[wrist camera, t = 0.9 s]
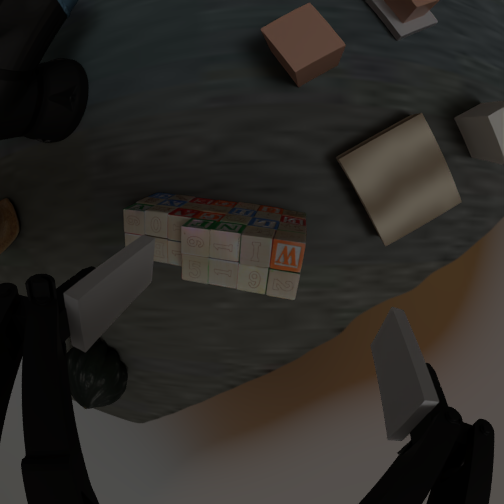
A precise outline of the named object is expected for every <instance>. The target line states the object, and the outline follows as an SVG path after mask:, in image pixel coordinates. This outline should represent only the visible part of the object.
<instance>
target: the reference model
mask: <svg viewBox="0 0 504 504" xmlns="http://www.w3.org/2000/svg"><path fill="white" fill-rule="evenodd" d="M365 1H366V3H367V4H368V5H369V6H370V7H371V8H372V10H373V11H374V12H375V13H376V14H377V15H378V17H379V18H380V19H381V20H382V22H383V23H384V24H385V25H386V27H387V28H388V29H389V31H390V32H391V33H392V35H393V36H394V37H395V39H396V40H397V41H398V40H400V39H402V38H405V37H407V36H409V35H412V34H414V33H417V32H419V31H422V30H424V29H427V28H429V27H432V26H434V25H435V24H436V23H437V22H438V21H437V19H436V18H435V17H434V15H433V14H432V13H431V11H430V9H431V8H432V7H433V6H434V5H435V4H436V3H437V2H438V1H439V0H365Z"/></svg>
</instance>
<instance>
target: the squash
mask: <svg viewBox="0 0 504 504" xmlns="http://www.w3.org/2000/svg"><path fill="white" fill-rule="evenodd" d="M67 364H68V374H69V383H70V391H71V395H72V396H73V398H74V399H75V400H76V401H77V402H78V403H79V404H80V405H81V406H82V407H84V408H85V409H87V408H88V409H89V408H94V407H102V406H106V405H110V404H112V403H114V402H115V401H117V400H118V399H119V398H120V397H121V396H122V394H123V393H124V391H125V389H126V385H127V378H128V375H127V370H126V368H125V367H124V365H123V364H122V363H121V362H120V359H119V356H118V354H117V353H116V352H114V351H108V349H107V346H106V345H105V344H104V343H103V342H95V343H94V344H93V345H92V346H91V347H90V348H89V349H88V351H87V352H86V353H85V352H83V351H81V350H80V349H78V348H76V347H73V348H72V349H70V350H69V352H68V353H67Z"/></svg>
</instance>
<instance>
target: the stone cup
mask: <svg viewBox="0 0 504 504" xmlns="http://www.w3.org/2000/svg"><path fill="white" fill-rule="evenodd" d="M18 233H19V221H18V217H17V214H16V211H15V209H14V207H13V205H12V203H11V202H10V200H9V199H8V198H5V199H3V200H1V201H0V254H1V253H2V252H3V251H5V250H6V248H7V247H8V246H9V245H10V244H11V243H12V242H13V241H14V240H15V238H16V237H17V235H18Z"/></svg>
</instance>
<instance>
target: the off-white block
mask: <svg viewBox="0 0 504 504" xmlns="http://www.w3.org/2000/svg"><path fill="white" fill-rule="evenodd" d="M454 119H455V121H456V124H457V126H458V128H459V130H460V132H461V134H462V136H463V139H464V141H465V143H466V146H467V148H468V150H469V153H470V155H471V158H476V159H480V160H485V161H489V162H494V163H498V164H502V165H504V101H496V102H486V103H481V104H479V105H477V106H475V107H473V108H471V109H469V110H468V111H466V112H464V113H462V114H460V115H458V116H457V117H455V118H454Z"/></svg>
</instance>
